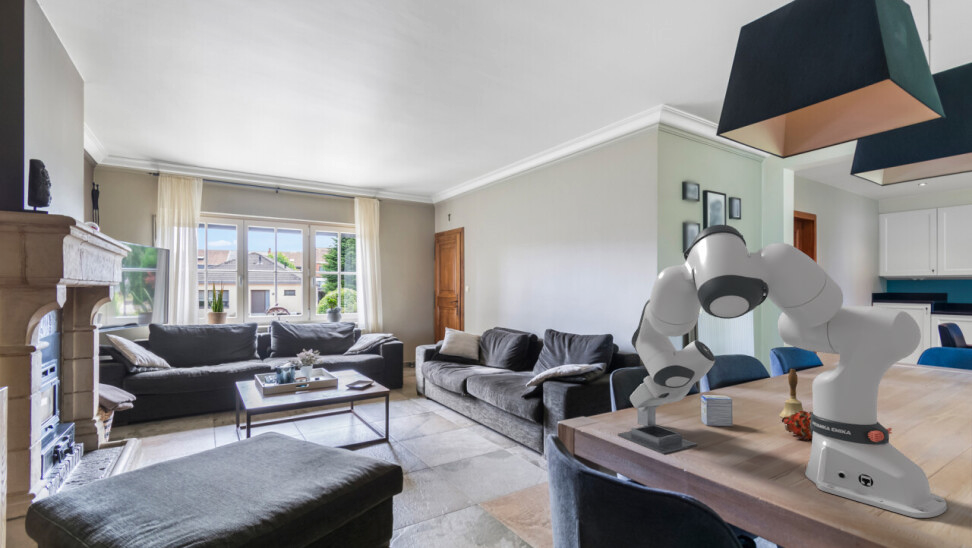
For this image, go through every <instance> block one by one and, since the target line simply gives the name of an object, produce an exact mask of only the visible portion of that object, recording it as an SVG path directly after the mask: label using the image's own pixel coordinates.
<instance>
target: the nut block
mask: <svg viewBox="0 0 972 548" xmlns="http://www.w3.org/2000/svg"><path fill="white" fill-rule="evenodd" d="M646 408H647V409H646V410H645V411H642V412H640V411H639V409H638V408H637V424H639V425H641V426H648V425H653V424H654V425H657V424H656V421H657V420H656V416H657V415H656V413H657V412H656V409H655V405H654V406H648V407H646Z"/></svg>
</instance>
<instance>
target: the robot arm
mask: <svg viewBox="0 0 972 548" xmlns="http://www.w3.org/2000/svg"><path fill="white" fill-rule="evenodd" d="M683 258H684V261H685V262H684V263H683V264H680V265H679V264H678V265H672V266H671V265H670V266H668V267H666V268H664V269H663V270H661V271H660V272H659V273H658V275H657V276H656V278H655V281H654V283H653V286H652V290H651V293H650V298H649V299H648V300H647V301H646V302H645V304H644V306H643V309H642V311H641V316H640V320H639V323H638V325H637V328H636V330H635V331H634V333H633V334H632V337H631V340H630V341H631V345H632V347H633V348H634V350H635V351H636V353H637V354H638V356H639V358H640V359H641V361H642V363H643V365H644V367H645V369H646V370H647V373H648V374H649V375H647V376H646V377H644V378H643V383H641V384H639V385H638V386H637V388H636V389H635V390H634V391H633V392H632V394H630V396H629V401H630V403H631V404H632V405H633V407H634V408H635V409H637V410H638V409H639V411H640V412H642V411H645V410H646V409H647V408H646V407H648V406H654V405H655V410H657V408H658V407H660V406H663V405H665V404H671V403H677V402H679V401H681V400H683V399H684V398H685V397H686V396H687V394H688V393H689V392H690V390H691V389H692V387H693V385H694V384H695V383H697V382H699V381H700V380H701V379H703V378H704V377H705V376H706V375H707V374H708V372H709V371H710V370H711V368H712V367H713V366H714V364H715V362H716V358H715V354H713V352H712V351H711V349H710V348H709V347H708V346H707V345H706V344H705V343H703V342H702V341H699V340H693V341H692V342H690V343H689V344H687V345H686V346H685V347H684V348H683V349H681V350H677V349H676V348H675V346H674V344H673V342H672V341H671V340H670V338H669V337H672V338H673V337H675V338H676V337H681V336H684V335H686V334H689V333H690V332H692V330H693V329H694V328H695V326H696V325H697V323H698V320H699V316H700V311H701V307H702V309H703V311H704V312H705V313H706V314H708V315H709V316H712V317H714V318H719V319H725V320H726V319H727V320H731V319H737V318H739V317H742V316H744V315H746V314H748V313H750V312H752V311H754V309H756V307H758V306H760V305H761V304H763V303H764V302H765V301H766V300H767V298H768V299H769V300H770V301H771V302H772V303H773V304H774V305H775V306H777V308H778V309H779V310H780V311H781V313H780V315H779V317H778V320H777V331H778V335H779V337H780V338H781V339H782V341H783V342H784V343H785V344H786V345H788V346H792V347H795V348H797V349H801V350H805V351H808V352H815V353H822V354H823V353H825V354H832V355H839V360H838V361H839V362H838V364H837V366H836V367H835V368H832V369H829V370H825V371H824V372H821V373H819V374H818V375H816V377H815V378H814V379H813V381H812V385H811V386H812V390H811V391H812V411H811V412H812V413H811V422H810V427H811V435H812V441H811V448H810V455H809V459H808V463H807V467H806V470H805V472H804V474H805V476H806V477H807V479H809V480H810V481H811V482H813V483H814V484H815V485H816V488H817V489H819V490H820V491H822V492H826V493H828V494H833V495H836V496H839V497H843V498H847V499H848V500H852V501H857V502H859V503H864V504H866V505H869V506H870V505H871V506H874V507H877V508H880V509H884V510H887V511H890V512H893V513H897V514H900V515H904V516H908V517H912V518H916V519H917V518H918V519H923V518H924V519H925V518H933V517H934V518H935V517H937V516H940V515H942V514H944V513H945V512H946V511H947V510H948V509H947V508H948V507H947V501H946V500H945V499H944V498H943V497H942V496H940V495H937V494H935V493H932V491H931V487H930V482H929V480H928V477H927V474H926V472H925V470H924V469H923V468H922V467H920V466H919V465H918V464H916V462H914V461H913V460H912V459H910V458H909V457H907V456H906V455H905V454H904V453H902V452H901V451H900V450H899V449H898V448H897V447H895V446H893V444H891V443H890V435H891V434H892V433H893V432H892V427H889V428H886V427H884V426H883V425H882V424H881V423H880V422H879V421H878V398H879V397H878V394H879V387H880V385H881V381H882V379H883V377H884V376H885V374H886V372H888V370H890V368H892V367H893V365H895V364H896V363H898V362H900V361H901V360H903V359H906V358H907V357H909V356H911V355H912V354H913V353H915V351H916V350H917V348H918V347H919V345H920V343H921V337H922V336H921V335H922V333H921V329H920V326H919V324H918V323H917V321H916V320H915V319H914V317H913V316H912V315H910V313H908V312H906V311H904V310H898V309H894V308H888V307H884V306H879V305H878V306H877V305H876V306H875V305H874V306H873V305H867V306H866V305H847V304H846V305H845V304H843V303H844V295H843V290H842V288H841V286H840V285H839V284H837V282H836V281H835V280H834V279H833V278H832V277H831V276H830V275H829V274H828V273H827V272H826V271H825V270H824V268H823V267H821V266H820V265H819V264H818V263H817V262H816V261H815V260H814V259H813V258H811V257H810V256H809V255H808V254H806V253H804V252H803V251H801V250H800V249H798V248H797V247H795V246H793V245H792V244H789V243H785V242H775V243H774V242H773V243H769V244H766V245H765V246H763V247H761V248H760V249H758V250H757V251H756V252H751V251H750V252H749V250H748V248H747V242H746V240H745V238H744V236H743V235H742V233H741V232H740V231H739V230H738V229H737V228H735V227H733V226H732V225H728V224H715V225H710V226H709V227H706V228H704V229H702V230H701V231H700V232H699V233H697V235H696V236H695V237H694V239H693V241H692V242H691V244H690V246H689V247H688V248H686V250H685V251H684V253H683Z"/></svg>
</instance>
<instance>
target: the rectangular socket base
mask: <svg viewBox="0 0 972 548" xmlns="http://www.w3.org/2000/svg"><path fill="white" fill-rule="evenodd" d="M617 436H618V437H620V438H623V439H625V440H628V441H630V442H632V443H635V444H637V445H641V446H642V447H645V448H648V449H650V450H652V451H655V452H657V453H660V454H662V455H665V454H670V453H674V452H677V451H682V450H686V449H687V450H688V449H689V448H690V449H691V448H694V447H697V446H698V443H696V442H694V441H693V442H692V441H690V440H688V439H685V438H683V434H682V433H680V432H677V431H674V430H672V429H669V428H667V427H663V426H660V425H657V424H656V425H654V424H653V425H648V426H644V425H642V426H639V427H634V428H633V427H632V428H631V429H630V431H625V432H624V431H623V432H620V433H618V434H617Z"/></svg>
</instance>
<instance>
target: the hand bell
mask: <svg viewBox="0 0 972 548" xmlns="http://www.w3.org/2000/svg"><path fill="white" fill-rule="evenodd" d="M787 379H788V380H787V381H788V384H789V391H790V392H789V398H788V399H786V400H785V403H784V406H783V409H782V411H781V412H780V413H779V414H778V417H780V418H782V419H783V418H784V417H787V416H791V415H792V414H796V413H799V410H801V411H804V408H803V403H802V402H801V400H798V399H797V390H796V389H797V385H798V380H799V379H798V374H797V372H796V369H794V368H790V370H789V373H788V375H787Z"/></svg>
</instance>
